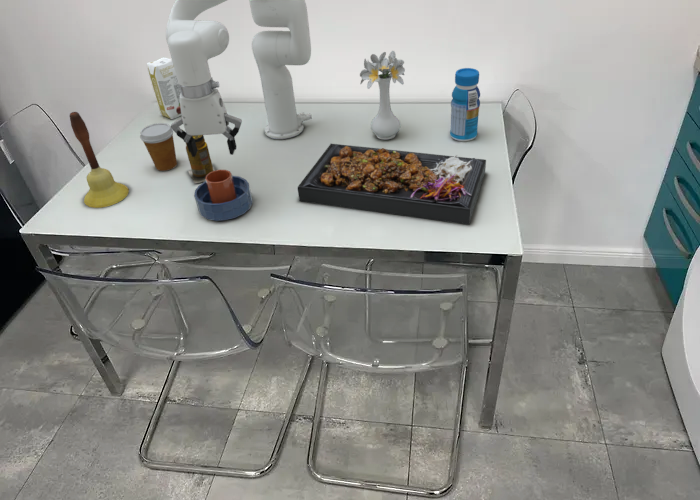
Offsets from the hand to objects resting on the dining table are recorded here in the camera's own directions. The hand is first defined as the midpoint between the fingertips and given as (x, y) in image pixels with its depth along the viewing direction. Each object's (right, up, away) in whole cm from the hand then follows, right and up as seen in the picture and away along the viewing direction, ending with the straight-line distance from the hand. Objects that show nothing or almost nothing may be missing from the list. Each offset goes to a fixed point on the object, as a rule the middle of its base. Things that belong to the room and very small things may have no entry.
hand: (213, 153), depth 141 cm
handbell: (-35, -9, +19) cm, 40 cm away
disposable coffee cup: (-22, +1, +30) cm, 37 cm away
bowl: (+1, -13, +10) cm, 16 cm away
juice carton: (-28, +24, +60) cm, 70 cm away
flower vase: (+45, +12, +36) cm, 59 cm away
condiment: (-9, -2, +24) cm, 26 cm away
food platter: (+46, -7, +11) cm, 48 cm away
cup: (+1, -12, +9) cm, 15 cm away
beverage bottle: (+69, +11, +32) cm, 77 cm away
